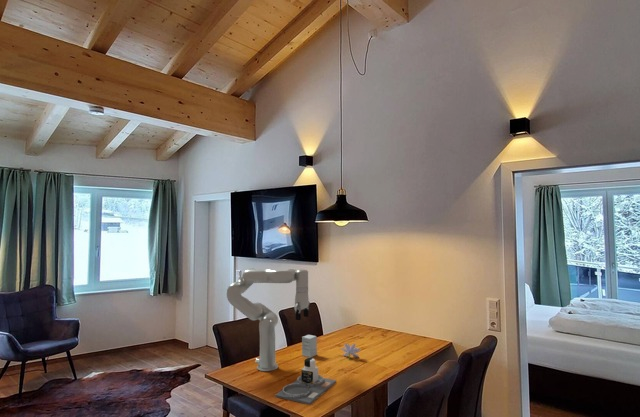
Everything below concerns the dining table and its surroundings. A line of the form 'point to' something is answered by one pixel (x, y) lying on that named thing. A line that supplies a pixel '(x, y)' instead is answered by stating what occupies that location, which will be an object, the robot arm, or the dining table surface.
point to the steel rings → (300, 384)
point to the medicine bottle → (309, 371)
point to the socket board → (314, 391)
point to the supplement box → (309, 346)
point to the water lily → (350, 350)
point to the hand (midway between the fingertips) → (302, 318)
